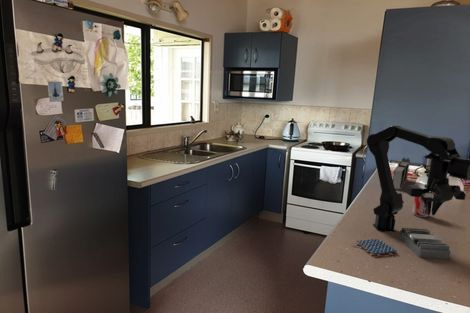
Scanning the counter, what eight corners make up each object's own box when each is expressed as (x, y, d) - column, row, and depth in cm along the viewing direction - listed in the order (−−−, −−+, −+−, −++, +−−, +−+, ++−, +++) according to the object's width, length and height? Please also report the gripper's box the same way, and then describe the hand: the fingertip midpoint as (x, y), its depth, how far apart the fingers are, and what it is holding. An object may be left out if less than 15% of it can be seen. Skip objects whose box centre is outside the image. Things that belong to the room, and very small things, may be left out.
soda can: (411, 216, 159) (415, 190, 157) (412, 211, 165) (415, 187, 163) (429, 219, 156) (433, 193, 153) (429, 214, 162) (433, 189, 160)
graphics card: (399, 178, 230) (402, 157, 227) (407, 179, 227) (410, 158, 224) (391, 190, 202) (394, 165, 200) (399, 191, 200) (403, 167, 197)
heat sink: (418, 257, 119) (420, 244, 118) (398, 237, 134) (400, 226, 134) (448, 259, 119) (451, 246, 118) (425, 238, 134) (427, 227, 133)
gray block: (412, 241, 124) (412, 237, 124) (406, 236, 128) (407, 233, 128) (441, 243, 124) (442, 239, 124) (435, 238, 128) (436, 235, 128)
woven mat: (373, 259, 117) (374, 254, 116) (354, 245, 127) (354, 240, 126) (399, 256, 120) (400, 251, 119) (378, 243, 130) (379, 238, 129)
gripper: (421, 177, 115) (414, 221, 119) (479, 181, 115) (470, 225, 118) (407, 169, 126) (400, 210, 130) (460, 172, 126) (452, 213, 129)
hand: (430, 214), depth 126 cm, fingers closed
